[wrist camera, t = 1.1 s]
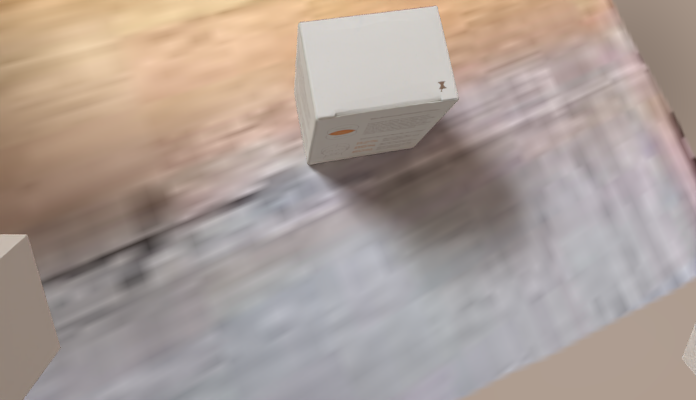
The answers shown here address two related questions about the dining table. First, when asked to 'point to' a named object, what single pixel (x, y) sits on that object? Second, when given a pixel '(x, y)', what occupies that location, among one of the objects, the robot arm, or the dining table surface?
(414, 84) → the small box
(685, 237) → the dining table surface
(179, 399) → the dining table surface
